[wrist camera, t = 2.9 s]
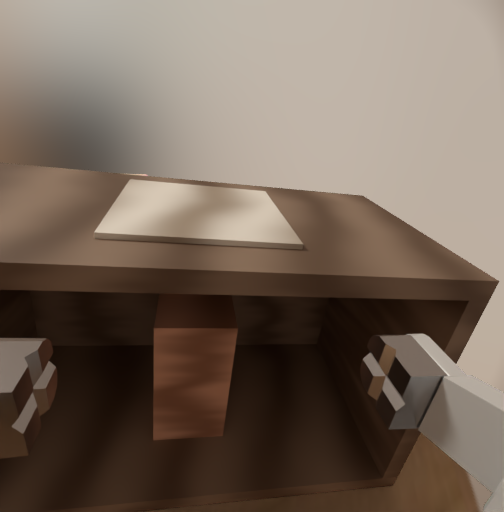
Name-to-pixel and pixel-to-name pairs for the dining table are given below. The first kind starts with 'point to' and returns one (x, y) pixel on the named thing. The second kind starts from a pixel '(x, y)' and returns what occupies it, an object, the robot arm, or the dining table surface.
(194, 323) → the terracotta block
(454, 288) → the cubby
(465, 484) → the dining table surface
